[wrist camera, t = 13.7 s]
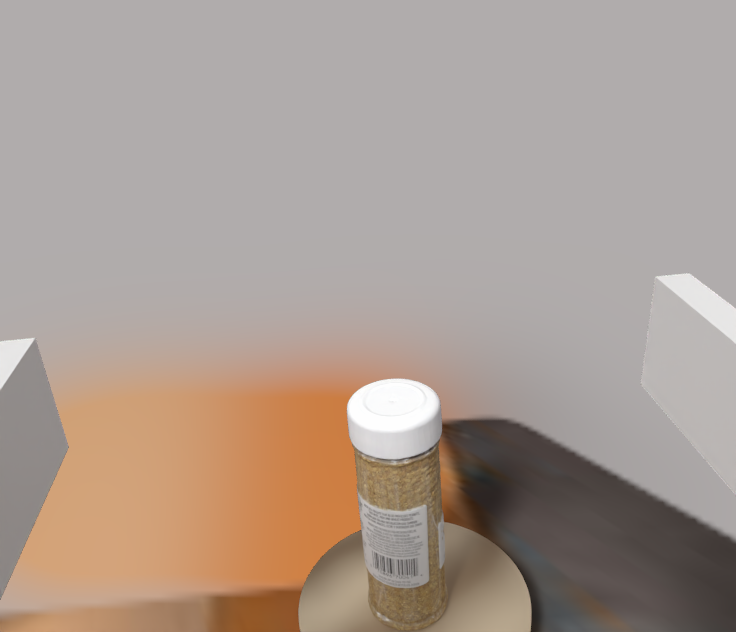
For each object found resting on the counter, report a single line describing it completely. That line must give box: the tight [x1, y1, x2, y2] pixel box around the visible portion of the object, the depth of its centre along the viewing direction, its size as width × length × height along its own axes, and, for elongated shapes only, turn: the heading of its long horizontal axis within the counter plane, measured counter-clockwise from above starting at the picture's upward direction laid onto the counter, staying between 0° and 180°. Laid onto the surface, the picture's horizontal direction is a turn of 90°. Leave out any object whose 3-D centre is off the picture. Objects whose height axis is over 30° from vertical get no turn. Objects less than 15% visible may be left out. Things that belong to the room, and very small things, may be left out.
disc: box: [298, 522, 532, 632], centre depth 40 cm, size 13×13×3 cm
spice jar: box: [347, 379, 448, 631], centre depth 37 cm, size 5×5×13 cm
